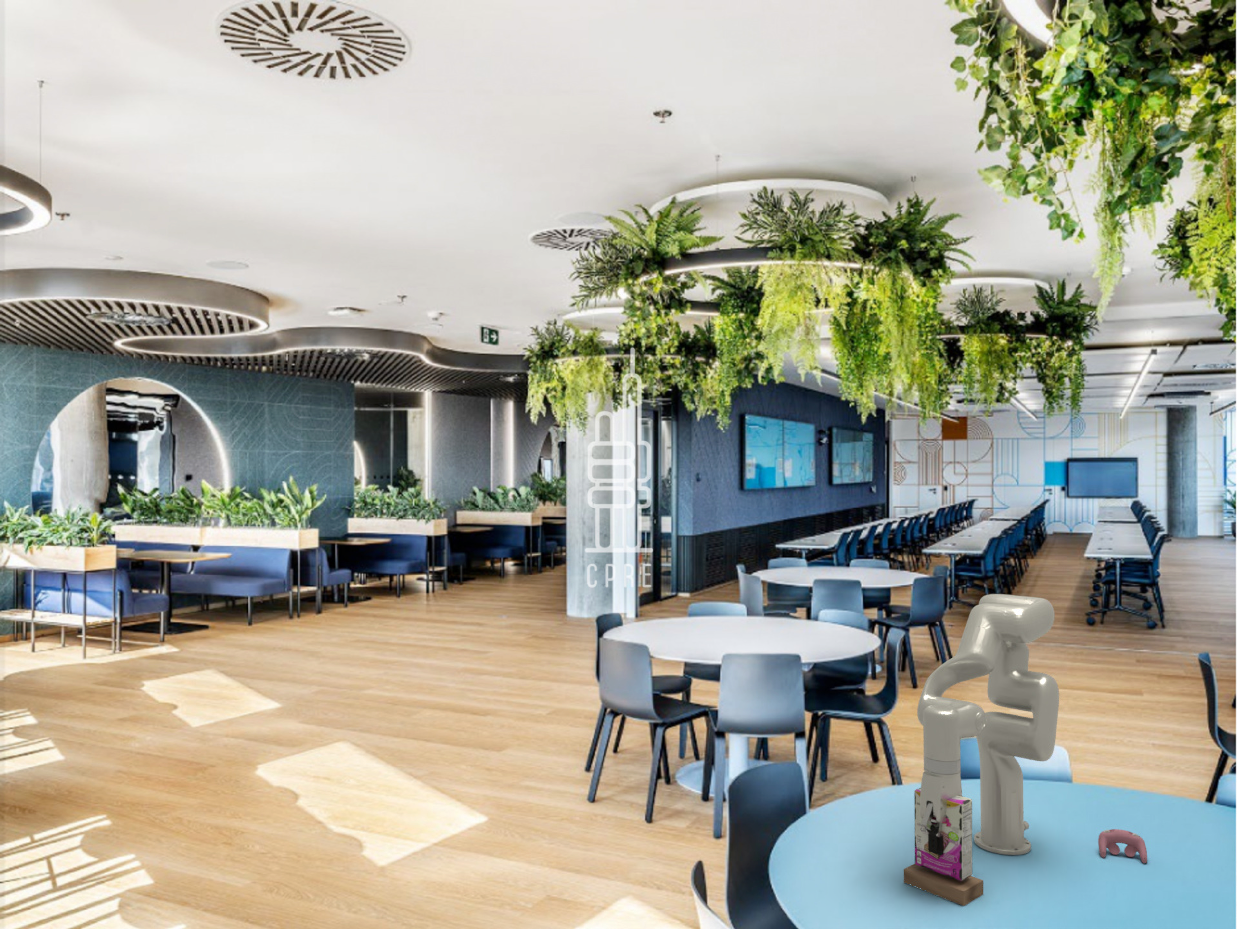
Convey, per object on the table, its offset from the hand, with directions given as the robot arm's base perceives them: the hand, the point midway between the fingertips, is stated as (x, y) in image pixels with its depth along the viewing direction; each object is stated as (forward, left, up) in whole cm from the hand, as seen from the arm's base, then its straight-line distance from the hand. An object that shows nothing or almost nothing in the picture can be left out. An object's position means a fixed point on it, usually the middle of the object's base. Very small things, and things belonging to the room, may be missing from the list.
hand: (943, 848), depth 192 cm
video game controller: (-47, +18, -9) cm, 51 cm away
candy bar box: (0, 0, -5) cm, 5 cm away
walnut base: (0, 0, -8) cm, 8 cm away
